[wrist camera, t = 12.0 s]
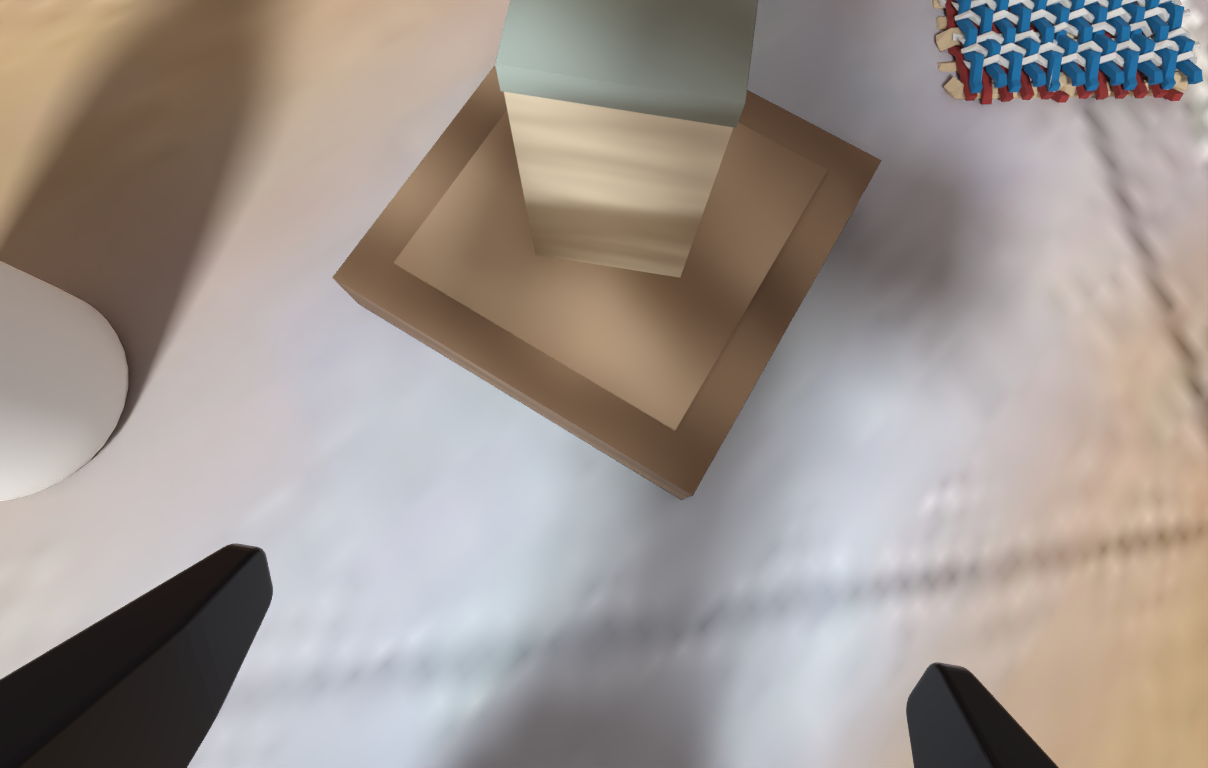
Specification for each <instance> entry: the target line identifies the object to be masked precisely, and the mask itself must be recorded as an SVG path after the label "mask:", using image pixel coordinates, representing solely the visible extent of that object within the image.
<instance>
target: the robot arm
mask: <svg viewBox="0 0 1208 768" xmlns="http://www.w3.org/2000/svg"><path fill="white" fill-rule="evenodd" d="M272 595H273V586H272V581H271V576H270V572H269V567H268V562H267V558H266V554H265V552H264V551H263V550H262V549H261V548H259V547H254V546H249V545H243V544H230V545H227V546H225V547H223V548H221V549H220V550H218V551H216V552H215V553H213V554H211V555H210V556H208V557H206V558H204V559H203V560H201V561H199V562H198V563H196V564H194V565H193V566H191V567H189V568H188V569H186V570H184V571H183V572H181V573H179V574H177V575H176V576H174V577H172V578H171V579H169V580H167V581H166V582H164V583H162V584H161V585H159V586H157V587H156V588H154V589H152V590H151V591H149V592H147V593H145V594H144V595H142V596H140V597H139V598H137V599H135V600H134V601H132V602H130V603H129V604H127V605H125V606H124V607H122V608H120V609H118V610H117V611H115V612H113V613H112V614H110V615H108V616H107V617H105V618H103V619H102V620H100V621H98V622H97V623H95V624H93V625H91V626H90V627H88V628H86V629H85V630H83V631H81V632H80V633H78V634H76V635H75V636H73V637H71V638H70V639H68V640H66V641H64V642H63V643H61V644H59V645H58V646H56V647H54V648H53V649H51V650H49V651H48V652H46V653H44V654H43V655H41V656H39V657H37V658H36V659H34V660H32V661H31V662H29V663H27V664H26V665H24V666H22V667H21V668H19V669H17V670H16V671H14V672H12V673H11V674H9V675H7V676H5V677H4V678H2V679H0V768H187V766H188V765H189V763H190V761H191V760H192V758H193V756H194V755H195V753H196V751H197V750H198V748H199V746H200V745H201V743H202V741H203V740H204V738H205V736H206V735H207V733H208V731H209V729H210V728H211V726H212V724H213V722H214V721H215V719H216V717H217V715H218V713H219V711H220V709H221V707H222V705H223V703H224V701H225V699H226V697H227V695H228V693H229V691H230V689H231V687H232V684H233V682H234V680H235V678H236V676H237V674H238V672H239V670H240V667H241V665H242V663H243V661H244V659H245V657H246V655H247V653H248V650H249V648H250V646H251V644H252V642H253V640H254V638H255V636H256V633H257V631H258V629H259V627H260V625H261V623H262V621H263V619H264V617H265V614H266V612H267V610H268V608H269V606H270V603H271V600H272ZM906 714H907V722H908V729H909V735H910V742H911V749H912V756H913V763H914V768H1059V767H1058V766H1057V765H1056V764H1055V763H1054V762H1053V761H1052V760H1051V759H1050V758H1049V756H1048V755H1047V754H1046V753H1045V752H1044V751H1043V750H1042V749H1041V748H1040V747H1039V746H1038V744H1037V743H1036V742H1035V741H1034V740H1033V739H1032V738H1031V737H1030V736H1029V735H1028V734H1027V732H1026V731H1025V730H1024V729H1023V728H1022V727H1021V726H1020V725H1019V724H1018V723H1017V722H1016V720H1015V719H1014V718H1013V717H1012V716H1011V715H1010V714H1009V713H1008V712H1007V711H1006V710H1005V709H1004V707H1003V706H1002V705H1001V704H1000V703H999V702H998V701H997V700H996V699H995V698H994V697H993V695H992V694H991V693H990V692H989V691H988V690H987V689H986V688H985V687H984V686H983V685H982V683H981V682H980V681H979V680H978V679H977V678H976V677H975V676H974V675H973V674H972V673H971V672H970V671H969V670H967V669H966V668H964V667H961V666H956V665H950V664H944V663H933V664H931V665H930V666H929V667H928V668H927V669H926V671H925V672H924V674H923V675H922V677H921V679H920V680H919V682H918V683H917V685H916V686H915V688H914V689H913V691H912V692H911V694H910V696H909V698H908V701H907V707H906Z"/></svg>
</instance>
